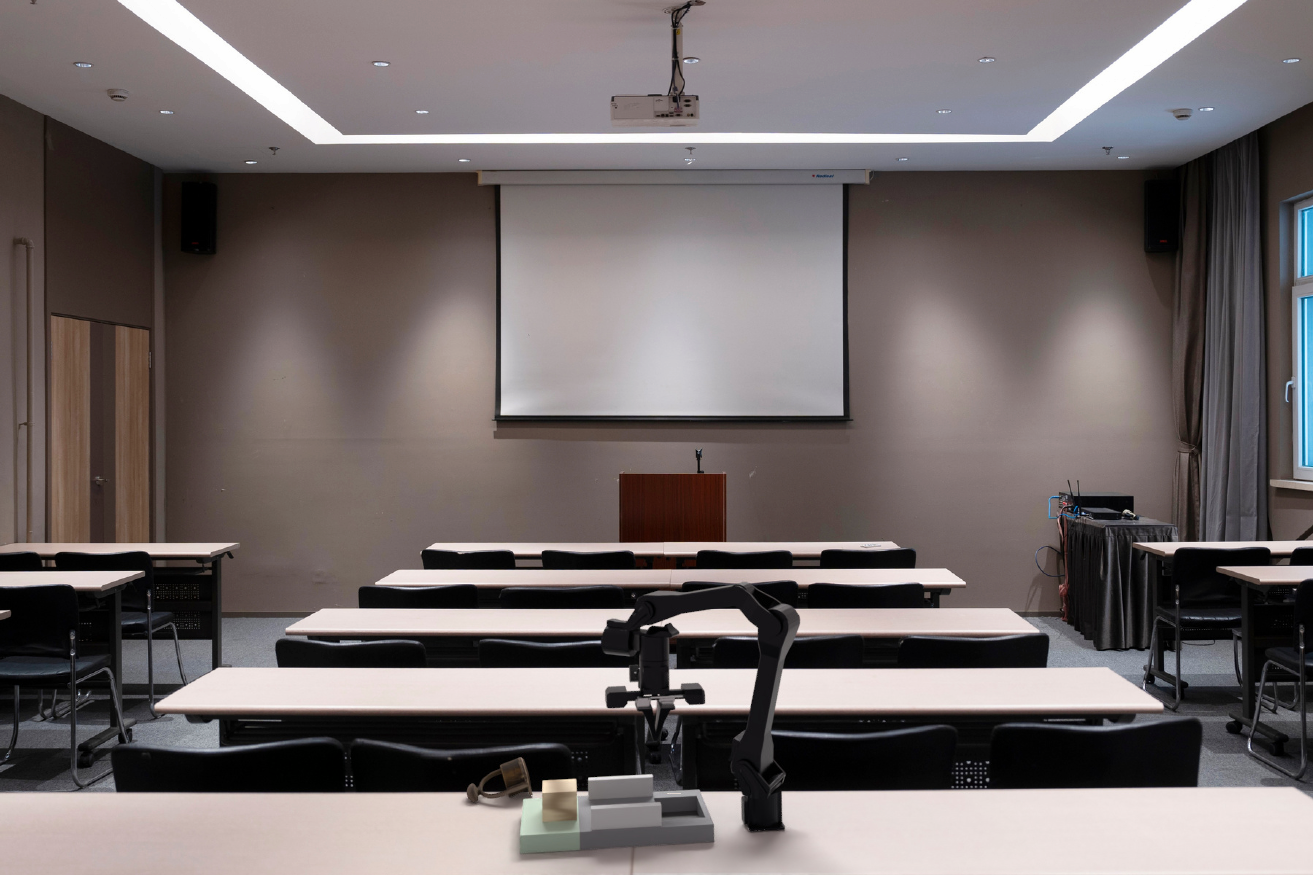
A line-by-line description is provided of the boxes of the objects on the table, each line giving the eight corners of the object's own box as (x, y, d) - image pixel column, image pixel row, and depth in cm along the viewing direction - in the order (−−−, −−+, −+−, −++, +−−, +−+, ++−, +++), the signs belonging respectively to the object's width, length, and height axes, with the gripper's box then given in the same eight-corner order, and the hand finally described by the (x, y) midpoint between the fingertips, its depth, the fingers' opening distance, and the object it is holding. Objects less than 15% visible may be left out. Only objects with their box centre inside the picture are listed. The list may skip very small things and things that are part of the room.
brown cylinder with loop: (529, 779, 169) (540, 750, 179) (463, 772, 170) (477, 744, 180) (527, 813, 171) (538, 782, 180) (462, 805, 171) (476, 776, 181)
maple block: (576, 806, 161) (576, 778, 162) (577, 819, 156) (576, 791, 156) (542, 808, 161) (542, 780, 161) (542, 821, 155) (542, 792, 155)
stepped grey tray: (699, 805, 169) (699, 770, 169) (714, 841, 153) (713, 803, 153) (523, 815, 165) (523, 779, 165) (519, 853, 149) (519, 814, 150)
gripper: (695, 647, 180) (696, 725, 179) (603, 651, 177) (604, 729, 177) (705, 660, 169) (706, 743, 168) (606, 664, 166) (607, 748, 166)
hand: (655, 740), depth 170 cm, fingers closed
